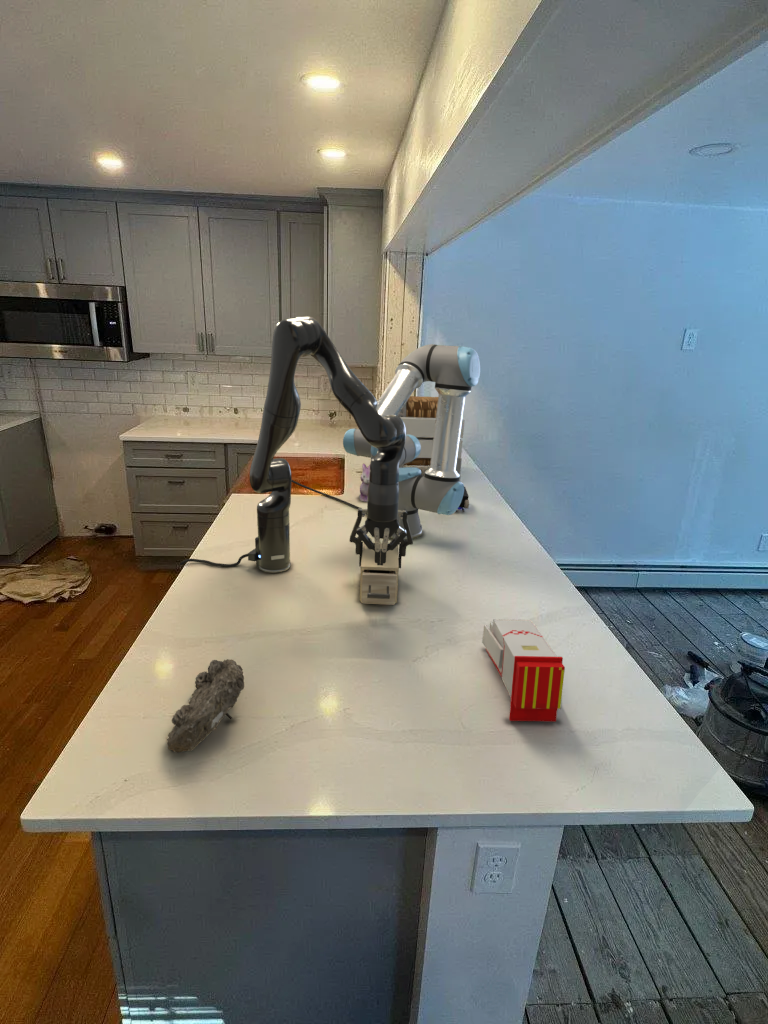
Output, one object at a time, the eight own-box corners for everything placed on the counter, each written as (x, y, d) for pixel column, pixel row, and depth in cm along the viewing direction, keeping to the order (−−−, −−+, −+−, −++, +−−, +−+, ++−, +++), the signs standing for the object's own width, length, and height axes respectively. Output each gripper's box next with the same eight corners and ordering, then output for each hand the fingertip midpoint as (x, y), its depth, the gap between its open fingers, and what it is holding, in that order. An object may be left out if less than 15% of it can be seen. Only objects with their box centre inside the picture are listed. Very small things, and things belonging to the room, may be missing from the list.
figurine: (363, 503, 228) (365, 467, 223) (353, 496, 237) (354, 461, 232) (384, 501, 233) (386, 465, 227) (373, 493, 241) (374, 459, 236)
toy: (529, 604, 135) (573, 663, 106) (524, 656, 138) (566, 727, 109) (478, 603, 135) (509, 662, 105) (474, 655, 137) (503, 727, 108)
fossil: (192, 660, 117) (244, 628, 112) (224, 691, 120) (276, 661, 115) (142, 746, 98) (202, 712, 93) (182, 779, 101) (242, 748, 96)
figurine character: (469, 517, 223) (463, 501, 236) (471, 500, 219) (465, 484, 233) (452, 516, 222) (447, 500, 236) (454, 499, 219) (449, 483, 232)
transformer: (382, 463, 289) (386, 382, 275) (445, 464, 293) (451, 384, 279) (390, 482, 257) (394, 392, 243) (460, 483, 261) (468, 394, 247)
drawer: (395, 616, 145) (396, 586, 142) (360, 614, 145) (361, 584, 142) (394, 579, 164) (395, 552, 161) (363, 577, 164) (364, 551, 161)
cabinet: (396, 603, 153) (398, 568, 149) (359, 601, 153) (360, 566, 149) (396, 576, 168) (397, 543, 165) (362, 574, 168) (363, 542, 165)
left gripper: (354, 502, 133) (352, 569, 139) (410, 505, 133) (406, 571, 139) (356, 493, 140) (354, 556, 146) (409, 495, 140) (406, 559, 146)
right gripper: (340, 494, 151) (338, 569, 159) (426, 497, 151) (420, 572, 159) (342, 485, 158) (341, 558, 166) (424, 489, 158) (419, 561, 166)
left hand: (380, 564), depth 143 cm, fingers closed
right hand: (380, 565), depth 162 cm, fingers open, 10 cm apart
